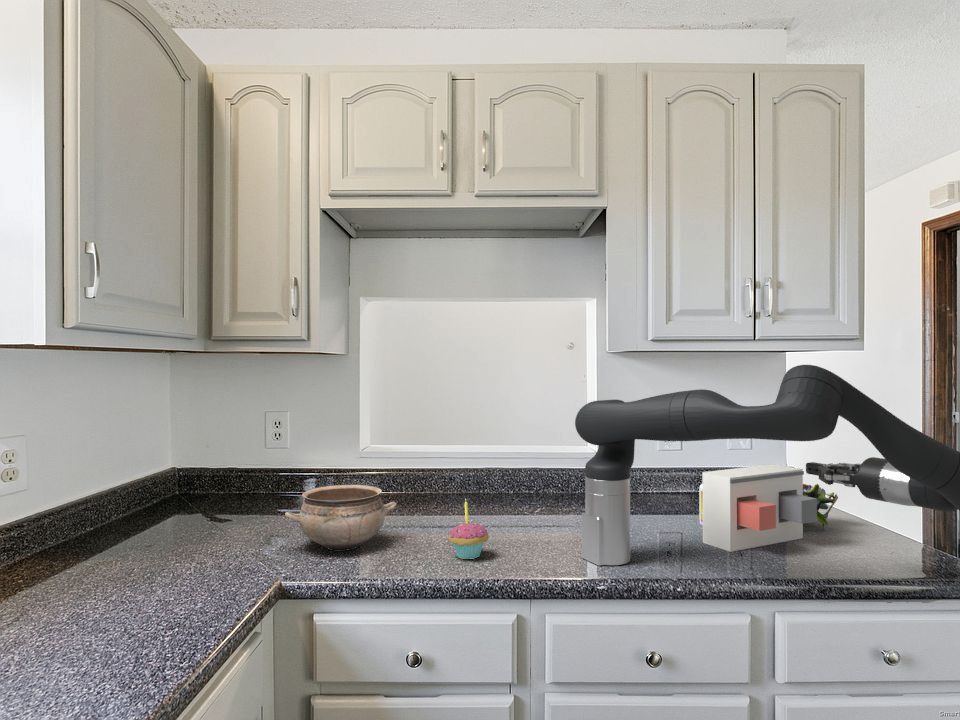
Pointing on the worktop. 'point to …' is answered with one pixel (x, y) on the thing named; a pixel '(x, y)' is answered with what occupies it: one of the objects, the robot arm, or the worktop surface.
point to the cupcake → (468, 538)
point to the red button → (756, 515)
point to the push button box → (746, 485)
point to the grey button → (798, 508)
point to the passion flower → (820, 500)
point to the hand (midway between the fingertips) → (808, 467)
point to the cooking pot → (341, 515)
